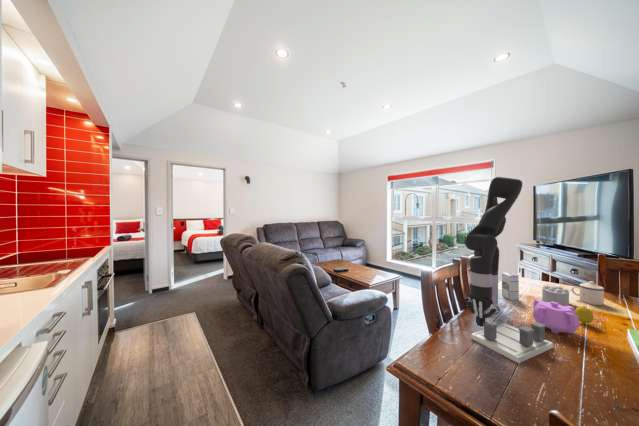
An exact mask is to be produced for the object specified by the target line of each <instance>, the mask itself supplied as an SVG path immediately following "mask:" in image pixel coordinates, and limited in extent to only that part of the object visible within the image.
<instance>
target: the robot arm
mask: <svg viewBox="0 0 639 426" xmlns="http://www.w3.org/2000/svg"><path fill="white" fill-rule="evenodd" d="M522 188H523V181H522V179H521V180H520V179H519V178H510V177H503V176H494V177H493V178H492V180H491V182H490V184H489V187H488V192H487V199H486V200H487V201H486V206H485V209H484V210H485V211H484V213H483V214H482V216H481V218H480V220H479V222H478V224H477V225H476V226H474V228H472V230H471V231H470V232H468V234H467V235H466V237H465V240H464V245H465V247H466V248H467V249H468V250H469V251H470V250H471V251H473V257H470V261H469V264H470V265H469V287H468V288H469V290H468V291H469V295H468V297H464V298H463V301H464V303H465V304H466V306H467V307H468V310H469V311H470V313H472V314H474V315H475V323H476V325H477V326H478V327H481V328H484V325H483V323H484V322H486V319H489V318H492V317H493V316H494V315H496V314H497V313H498V312H500V308H499V307H498V306H499V265H500V249H499V247H498V240H497V237H498V236H499V235H501V234H502V233H503V231H504V229H505V226H506V223H507V219H506V218H507V217H506V215H507V214H508V213H509V211H510V209H511V208H512V207H513V205H514V204H515V202H516V201H517V199H518V198H519V195H520V194H521V191H522ZM498 198H499V199H504V200H503V201H501V202H500V203H499V202H498ZM488 310H489V311H488Z"/></svg>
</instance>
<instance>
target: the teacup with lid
mask: <svg viewBox="0 0 639 426" xmlns="http://www.w3.org/2000/svg"><path fill="white" fill-rule="evenodd" d="M574 289H579V294H578V293H576V292H575V290H574ZM605 290H606V289H605V288H604V287H603V286H600V285H598V284H596V283H595V281H593V280H592V281H590V280H589V281H588V282H584V283H580V284H578V286H573V287H571V292H572V294H574V296H579V300H580V301H581V302H583V303H586V304H588V305H589V304H590V305H594V306H603V305H604V304H605Z"/></svg>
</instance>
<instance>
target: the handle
mask: <svg viewBox="0 0 639 426" xmlns="http://www.w3.org/2000/svg"><path fill="white" fill-rule="evenodd" d="M530 326H531V328H532V329H534V332H533V339H534V340H536V341H538V342H541V341H543V340H546V330H545V329H546V328H547V327H546V325H544V324H541V323H539V322H536V321H534V322H531V323H530Z"/></svg>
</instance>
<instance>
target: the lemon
mask: <svg viewBox="0 0 639 426" xmlns="http://www.w3.org/2000/svg"><path fill="white" fill-rule="evenodd" d="M574 310H575V315H577V316H578V319H579V322H581V323H582V325H583V324H584V325H586V324H590V323H592V322H593V321H594V314H593V311H592V310H591V309H590V308H588V307H586V306H584V305H583V306H578V307H576V308H575V309H574Z"/></svg>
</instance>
